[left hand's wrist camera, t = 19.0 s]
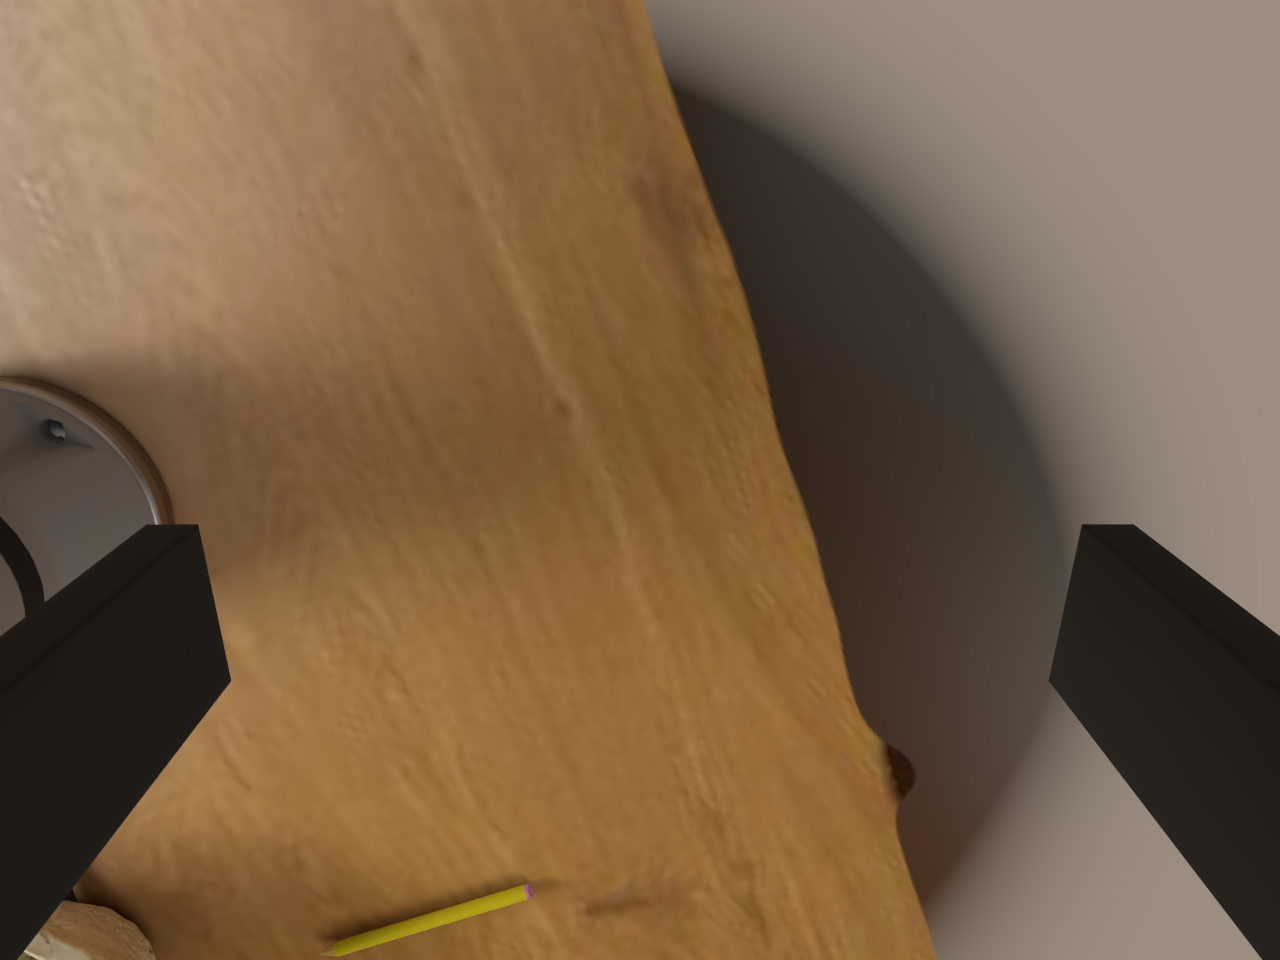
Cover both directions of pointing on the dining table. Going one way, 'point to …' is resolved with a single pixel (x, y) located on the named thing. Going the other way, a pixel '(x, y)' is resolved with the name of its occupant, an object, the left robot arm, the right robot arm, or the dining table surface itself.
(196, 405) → the dining table surface
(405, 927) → the pencil
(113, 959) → the bowl
